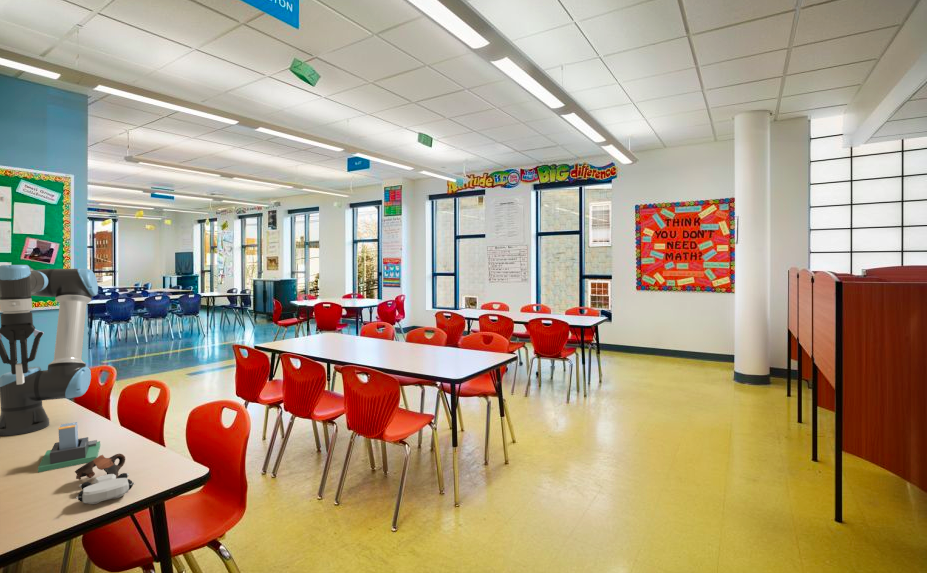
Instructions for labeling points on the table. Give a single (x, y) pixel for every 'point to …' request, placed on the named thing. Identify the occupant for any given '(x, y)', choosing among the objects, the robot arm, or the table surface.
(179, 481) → the table surface
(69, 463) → the circuit board
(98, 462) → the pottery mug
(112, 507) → the table surface
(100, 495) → the robot toy
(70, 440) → the plug
